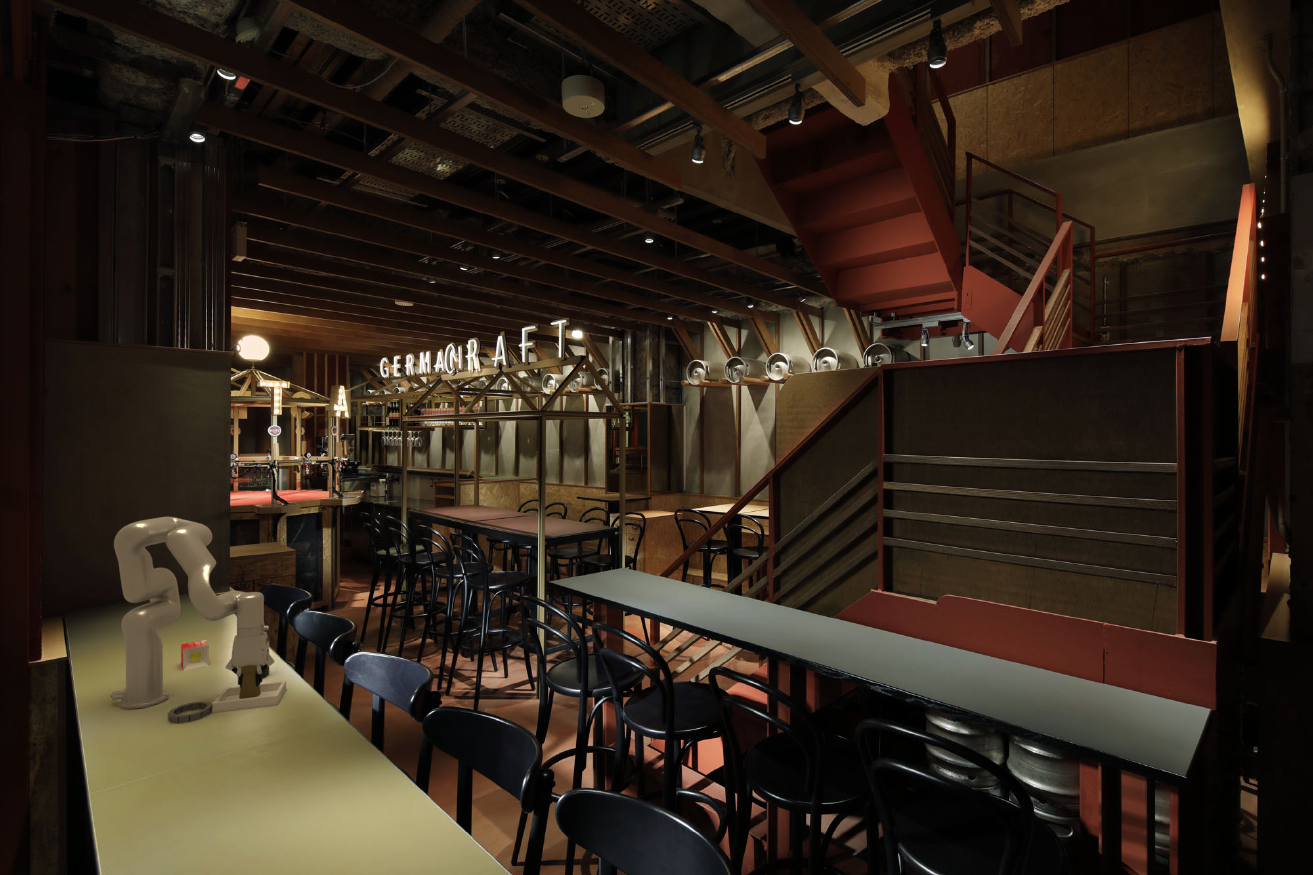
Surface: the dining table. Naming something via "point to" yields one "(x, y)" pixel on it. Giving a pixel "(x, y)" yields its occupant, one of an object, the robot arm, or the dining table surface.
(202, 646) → the small red white box
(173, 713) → the stone ring
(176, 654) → the dining table surface
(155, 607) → the robot arm
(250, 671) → the cork
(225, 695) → the white rectangular tray
